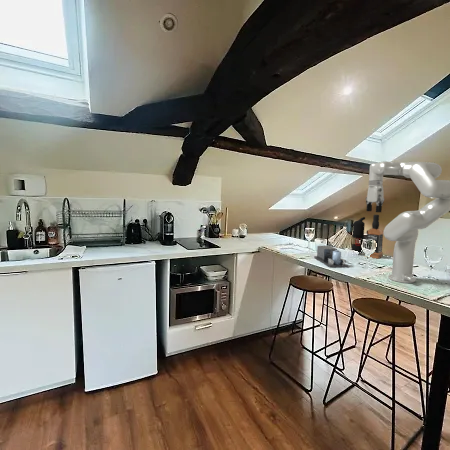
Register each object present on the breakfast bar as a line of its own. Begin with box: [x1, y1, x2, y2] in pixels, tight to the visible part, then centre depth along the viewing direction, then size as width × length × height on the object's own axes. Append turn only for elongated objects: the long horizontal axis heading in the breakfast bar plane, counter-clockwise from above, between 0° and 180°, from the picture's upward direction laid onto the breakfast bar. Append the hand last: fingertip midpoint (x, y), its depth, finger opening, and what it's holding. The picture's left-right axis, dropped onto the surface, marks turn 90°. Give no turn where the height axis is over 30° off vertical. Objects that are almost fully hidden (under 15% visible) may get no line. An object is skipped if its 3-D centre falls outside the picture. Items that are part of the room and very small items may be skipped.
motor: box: [314, 245, 349, 269], centre depth 191 cm, size 29×12×10 cm, turn 4°
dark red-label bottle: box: [350, 216, 366, 254], centre depth 216 cm, size 14×9×30 cm
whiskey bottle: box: [366, 214, 384, 260], centre depth 207 cm, size 10×10×32 cm
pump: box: [332, 249, 342, 265], centre depth 181 cm, size 5×5×9 cm
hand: (373, 211), depth 170 cm, fingers open, 9 cm apart
